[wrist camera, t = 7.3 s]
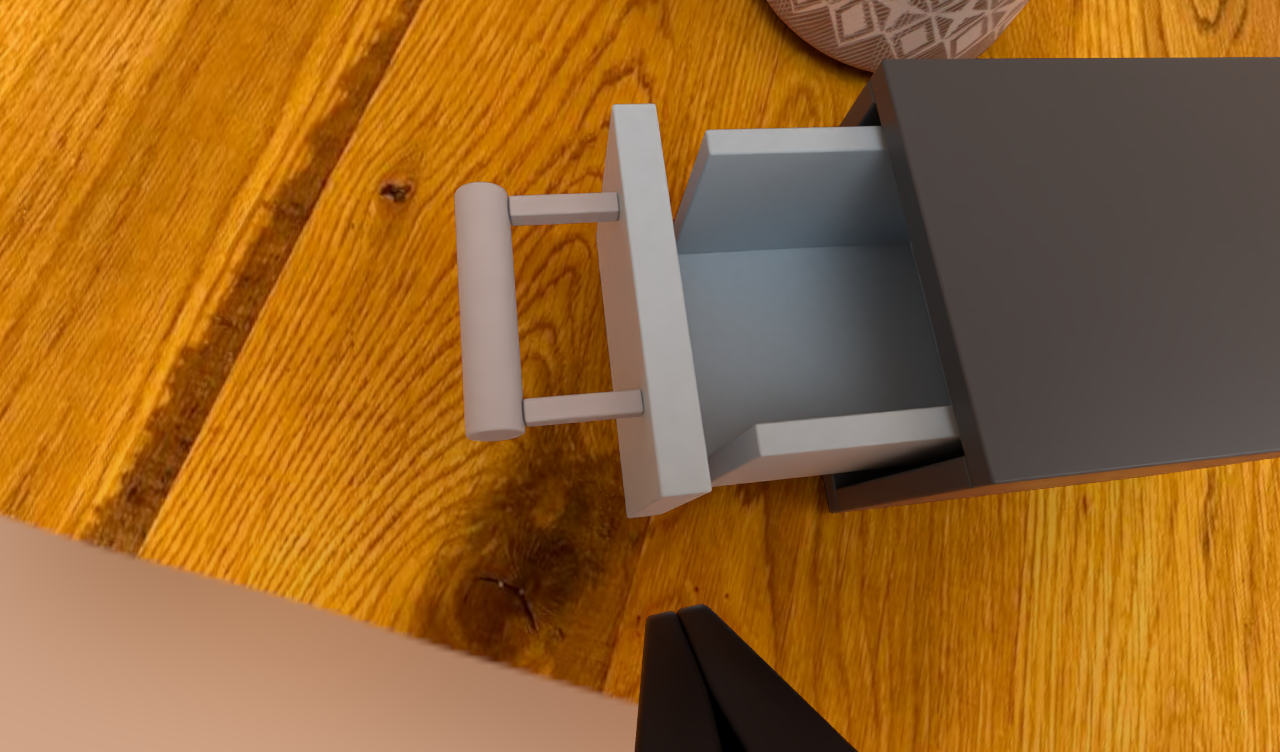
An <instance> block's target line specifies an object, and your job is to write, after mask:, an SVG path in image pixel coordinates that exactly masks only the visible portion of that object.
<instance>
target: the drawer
mask: <svg viewBox="0 0 1280 752" xmlns="http://www.w3.org/2000/svg"><path fill="white" fill-rule="evenodd" d="M454 201H455V222H456V244H457V265H458V286H459V308H460V329H461V350H462V372H463V393H464V414H465V435H466V437H467V438H468V439H470V440H475V441H500V440H507V439H512V438H516V437H519V436H521V435H523V434H524V433H525V425H526V426H528V427H531V426H542V425H554V424H565V423H576V422H587V421H598V420H609V419H616V422H617V431H618V440H619V449H620V458H621V467H622V476H623V486H624V495H625V504H626V513H627V517H628V518H636V517H644V516H653V515H661V514H663V513H665V512H667V511H670V510H672V509H674V508H676V507H678V506H681V505H683V504H685V503H687V502H689V501H692V500H694V499H696V498H698V497H700V496H703V495H705V494H707V493H709V492H711V490H712V487H715V486H724V485H734V484H743V483H752V482H761V481H770V480H780V479H789V478H798V477H807V476H816V475H825V474H835V473H844V472H853V471H862V470H871V469H881V468H890V467H899V466H908V465H917V464H927V463H936V462H942V461H946V460H950V459H954V458H958V457H961V456H965V454H964V450H963V446H962V442H961V438H960V434H959V430H958V426H957V422H956V418H955V414H954V410H953V406H952V403H951V399H950V395H949V391H948V387H947V383H946V379H945V375H944V371H943V367H942V363H941V359H940V355H939V351H938V347H937V343H936V339H935V335H934V331H933V327H932V323H931V319H930V315H929V311H928V307H927V304H926V300H925V296H924V292H923V288H922V284H921V280H920V276H919V272H918V268H917V264H916V260H915V256H914V252H913V248H912V244H911V240H910V236H909V232H908V228H907V224H906V220H905V216H904V212H903V208H902V205H901V201H900V197H899V193H898V189H897V185H896V181H895V177H894V173H893V169H892V165H891V161H890V157H889V153H888V149H887V145H886V141H885V137H884V133H883V129H882V126H860V127H814V128H769V129H723V130H707V131H706V132H705V135H704V137H703V140H702V143H701V146H700V149H699V152H698V155H697V158H696V161H695V163H694V166H693V169H692V172H691V175H690V178H689V181H688V184H687V186H686V189H685V192H684V195H683V198H682V201H681V204H680V207H679V210H678V212H677V215H676V218H675V221H674V224H673V219H672V212H671V206H670V199H669V192H668V185H667V178H666V171H665V164H664V158H663V151H662V144H661V137H660V130H659V123H658V117H657V110H656V105H655V104H614V105H613V106H612V111H611V119H610V127H609V135H608V143H607V152H606V160H605V168H604V176H603V184H602V193H578V194H550V195H522V196H509V197H508V194H507V192H506V191H505V190H504V189H503V188H502V187H500V186H499V185H496V184H493V183H489V182H472V183H468V184H465V185H463V186H461V187H460V188H458V189H457V191H456V193H455V195H454ZM510 221H511V223H510ZM590 222H598V225H597V233H596V241H597V250H598V259H599V268H600V277H601V286H602V295H603V304H604V313H605V322H606V331H607V341H608V350H609V359H610V368H611V377H612V386H613V391H610V392H598V393H586V394H574V395H562V396H551V397H539V398H527V399H524V400H523V390H522V376H521V362H520V348H519V334H518V321H517V307H516V293H515V279H514V265H513V251H512V237H511V225H512V226H521V225H544V224H567V223H590Z"/></svg>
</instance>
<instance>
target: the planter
mask: <svg viewBox="0 0 1280 752" xmlns="http://www.w3.org/2000/svg"><path fill="white" fill-rule="evenodd" d="M766 1H767V2H768V4H769V5H770V6H771V8H772V9H773V11H774V12H775V13H776V14H777V15H778V17H779V18H780V19H781V20H782V21H783V22H784V23H785V24H786V25H787V26H788V27H789V28H790V29H791V30H792V31H793V32H794V33H795V34H797V35H798V36H799V37H800V38H802V39H803V40H804V41H806V42H807V43H808V44H810V45H811V46H813V47H814V48H816V49H818V50H819V51H821V52H822V53H824V54H826V55H828V56H830V57H832V58H834V59H836V60H838V61H840V62H842V63H845V64H847V65H850V66H853V67H855V68H859V69H862V70H865V71H869V72H873V73H874V72H875V70H876V69H877V67H878V65H879V64H880V62H881V61H882V60H884V59H975V58H976V57H978V56H979V55H981V54H982V53H983V52H985V51H986V50H987V49H988V48H989V47H990V46H991V45H992V44H993V43H994V42H995V41H996V40H997V39H998V37H999V36H1000V35H1001V34H1002V33H1003V31H1004V30H1005V29H1006V28H1007V27H1008V26H1009V24H1010V23H1011V22H1012V21H1013V20H1014V18H1015V17H1016V16H1017V15H1018V14H1019V12H1020V11H1021V10H1022V9H1023V8H1024V6H1025V5H1026V4H1027V3H1028V2H1029V1H1030V0H766Z"/></svg>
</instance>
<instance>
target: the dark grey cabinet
mask: <svg viewBox="0 0 1280 752" xmlns="http://www.w3.org/2000/svg"><path fill="white" fill-rule="evenodd" d="M860 126H882V129H883V133H884V137H885V141H886V145H887V149H888V153H889V157H890V161H891V165H892V169H893V173H894V177H895V181H896V185H897V189H898V193H899V197H900V201H901V205H902V208H903V212H904V216H905V220H906V224H907V228H908V232H909V236H910V240H911V244H912V248H913V252H914V256H915V260H916V264H917V268H918V272H919V276H920V280H921V284H922V288H923V292H924V296H925V300H926V304H927V307H928V311H929V315H930V319H931V323H932V327H933V331H934V335H935V339H936V343H937V347H938V351H939V355H940V359H941V363H942V367H943V371H944V375H945V379H946V383H947V387H948V391H949V395H950V399H951V403H952V406H953V410H954V414H955V418H956V422H957V426H958V430H959V434H960V438H961V442H962V446H963V450H964V454H965V456H961V457H958V458H954V459H950V460H946V461H942V462H936V463H927V464H917V465H908V466H899V467H890V468H881V469H871V470H862V471H853V472H844V473H835V474H825V475H823V478H824V483H825V489H826V494H827V499H828V504H829V509H830V513H841V512H850V511H858V510H866V509H875V508H883V507H892V506H900V505H908V504H917V503H925V502H934V501H942V500H951V499H959V498H967V497H976V496H984V495H993V494H1001V493H1009V492H1018V491H1026V490H1035V489H1043V488H1052V487H1060V486H1068V485H1077V484H1085V483H1094V482H1102V481H1110V480H1119V479H1127V478H1136V477H1144V476H1152V475H1160V474H1167V473H1174V472H1181V471H1188V470H1194V469H1201V468H1208V467H1215V466H1222V465H1229V464H1236V463H1243V462H1250V461H1257V460H1263V459H1270V458H1277V457H1280V57H1221V58H1016V59H884V60H882V61H881V62H880V64H879V65H878V67H877V69H876V70H875V72H874V73H873V75H872V76H871V79H870V81H868V82H867V84H866V85H865V87H864V89H863V90H862V92H861V93H860V95H859V96H858V98H857V99H856V101H855V102H854V104H853V106H852V107H851V109H850V110H849V112H848V113H847V115H846V116H845V118H844V119H843V121H842V122H841V124H840V126H839V127H860Z"/></svg>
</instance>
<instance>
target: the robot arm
mask: <svg viewBox="0 0 1280 752" xmlns="http://www.w3.org/2000/svg"><path fill="white" fill-rule="evenodd" d="M635 752H858V751H857V750H856V749H855V748H854V747H853V746H852V745H851V744H850V743H848V742H847V741H846V740H845V739H844V738H843V737H842V736H841V735H840V734H839V733H838V732H837V731H836V730H835V729H834V728H833V727H832V726H831V725H830V724H829V723H828V722H827V721H826V720H825V719H824V718H823V717H822V716H821V715H820V714H819V713H818V712H817V711H816V710H814V709H813V708H812V707H811V706H810V705H809V704H808V703H807V702H806V701H805V700H804V699H803V698H802V697H801V696H800V695H799V694H798V693H797V692H796V691H795V690H794V689H793V688H792V687H791V686H790V685H789V684H788V683H787V682H786V681H785V680H784V679H783V678H781V677H780V676H779V675H778V674H777V673H776V672H775V671H774V670H773V669H772V668H771V667H770V666H769V665H768V664H767V663H766V662H765V661H764V660H763V659H762V658H761V657H760V656H759V655H758V654H757V653H756V652H755V651H754V650H753V649H752V648H751V647H750V646H749V645H747V644H746V643H745V642H744V641H743V640H742V639H741V638H740V637H739V636H738V635H737V634H736V633H735V632H734V631H733V630H732V629H731V628H730V627H729V626H728V625H727V624H726V623H725V622H724V621H723V620H722V619H721V618H720V617H719V616H718V615H717V614H716V613H715V612H713V611H712V610H711V609H710V608H709V607H708V606H706V605H704V604H699V605H694V606H690V607H686V608H681V609H679V610H678V611H677V614H676V613H675V612H673V611H668V612H664V613H660V614H655V615H651V616H649V617H648V618H647V620H646V626H645V637H644V649H643V660H642V672H641V684H640V695H639V707H638V718H637V731H636V742H635Z"/></svg>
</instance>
